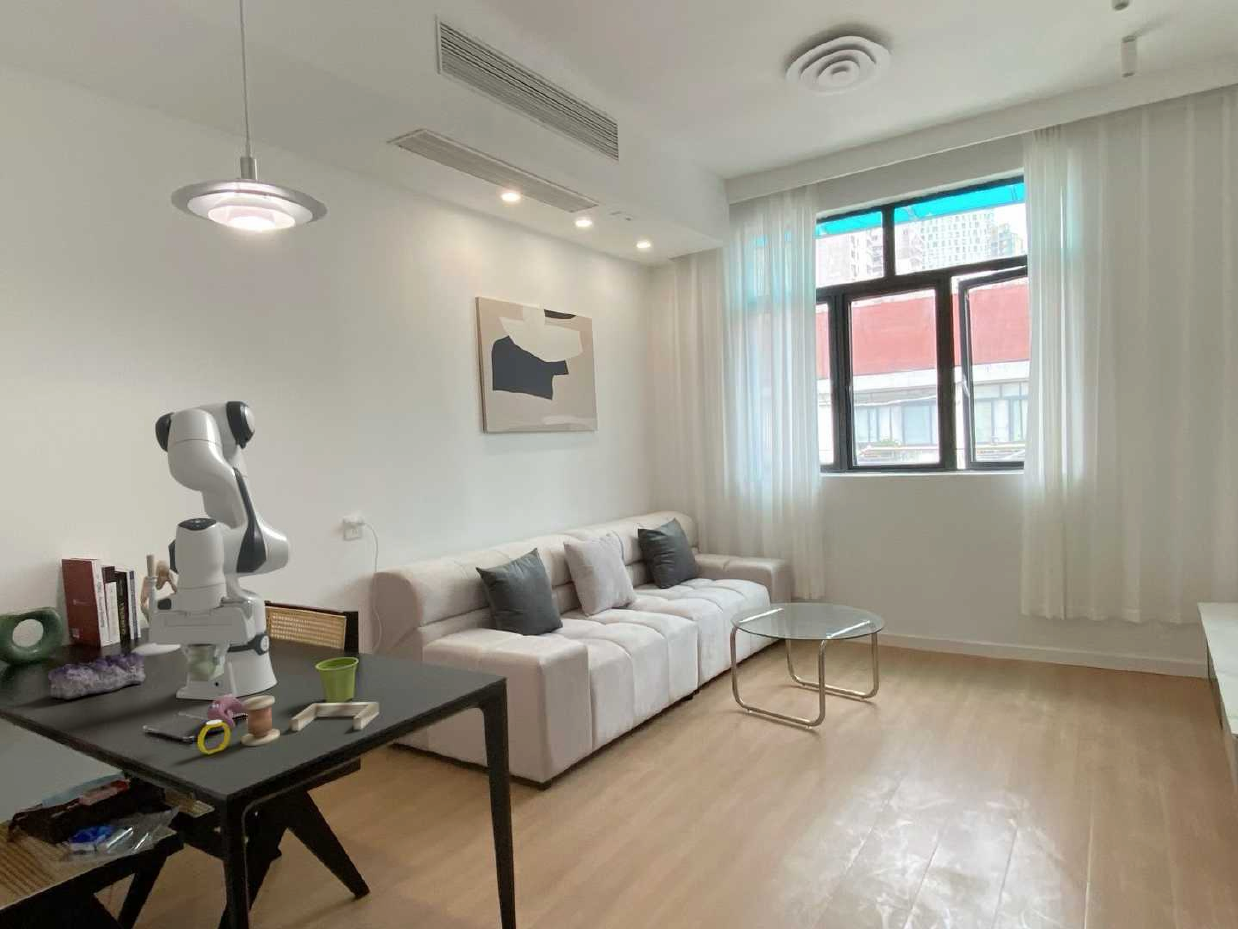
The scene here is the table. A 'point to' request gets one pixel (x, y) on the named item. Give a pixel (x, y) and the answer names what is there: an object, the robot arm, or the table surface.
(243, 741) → the bobbin
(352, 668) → the plant pot
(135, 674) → the geode
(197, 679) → the block
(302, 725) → the beige u-shaped bracket
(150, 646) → the candlestick
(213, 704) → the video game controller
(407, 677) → the table surface
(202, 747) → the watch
